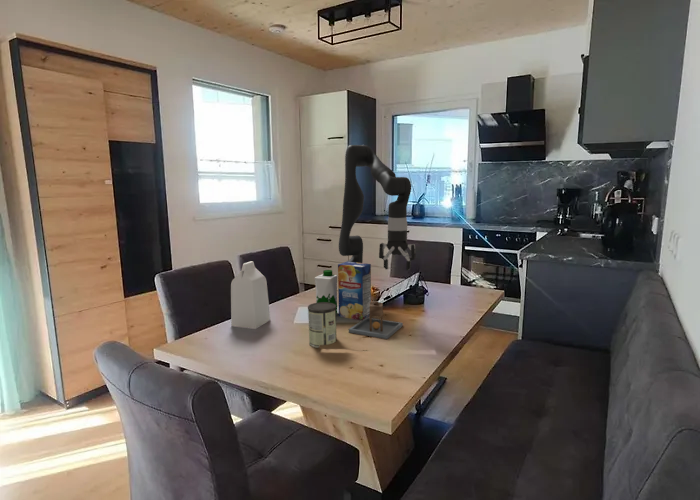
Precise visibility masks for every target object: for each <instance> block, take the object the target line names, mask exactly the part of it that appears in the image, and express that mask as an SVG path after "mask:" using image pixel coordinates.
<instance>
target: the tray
mask: <svg viewBox="0 0 700 500" xmlns="http://www.w3.org/2000/svg"><path fill="white" fill-rule="evenodd" d="M374 322H379V324H380V319H379V318H373V317H372V324H373V323H374ZM403 326H404V325H403V322H400V321H395V320H389V319H388V320H385V319H383V331H381V328H380V327H379V329H374V328H373V326H372V331H370V317H366V318H365V319H363V320H359V322H358V323H355V324H354V325H353V326H351V327H350V328H348V333H350V334H353V335H354V334H356V335H362V336H367V337H373V338H377V339H378V338H379V339H384V340H388V339H390V338H391V336H393V335H394V334H395V333H397V331H399V329H401V328H402V327H403Z"/></svg>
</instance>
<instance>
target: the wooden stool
mask: <svg viewBox="0 0 700 500" xmlns="http://www.w3.org/2000/svg"><path fill="white" fill-rule="evenodd" d="M383 308H384V307H383V302H379V301H377V300H375V301H373V302H371V303H370V317H369V318H370V331H372V318H373V317H380V328H381V331H383V320H384V319H383V318H384V317H383V314H384V313H383V312H384V311H383V310H384V309H383Z"/></svg>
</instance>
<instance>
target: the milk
mask: <svg viewBox="0 0 700 500" xmlns="http://www.w3.org/2000/svg"><path fill="white" fill-rule="evenodd" d="M267 283H268V282H267V278H266V276H265V275H263V274H262V273H261V271H259V269H257V268H256V266H255V263H254V261H251V260H250V261H248V262H244V263H243V264H242V267H241V271H239V273H238V274H237V275H236V276H235V277H234V278H233V279H232V280H231V284H230V315H231V316H230V318H231V320H230V323H231V324H230V325H231V327H235V328H244V329H251V330H257V329H258V328H260V327H261V326H263V325H264V324H266V323H268V322H270V321H271V311H270V301H269V291H268V285H267Z"/></svg>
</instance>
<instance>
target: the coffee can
mask: <svg viewBox="0 0 700 500" xmlns="http://www.w3.org/2000/svg"><path fill="white" fill-rule="evenodd" d="M307 312H308V313H307V315H308V316H307V317H308V344H309V346H311V347H313V348H317V349H320V346H328V345H331V344H334V343H335V342H337V313H336V305H335V304H333V303H328V302H319V303H316V302H314V303H311V304H309V305H308V306H307Z"/></svg>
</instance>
